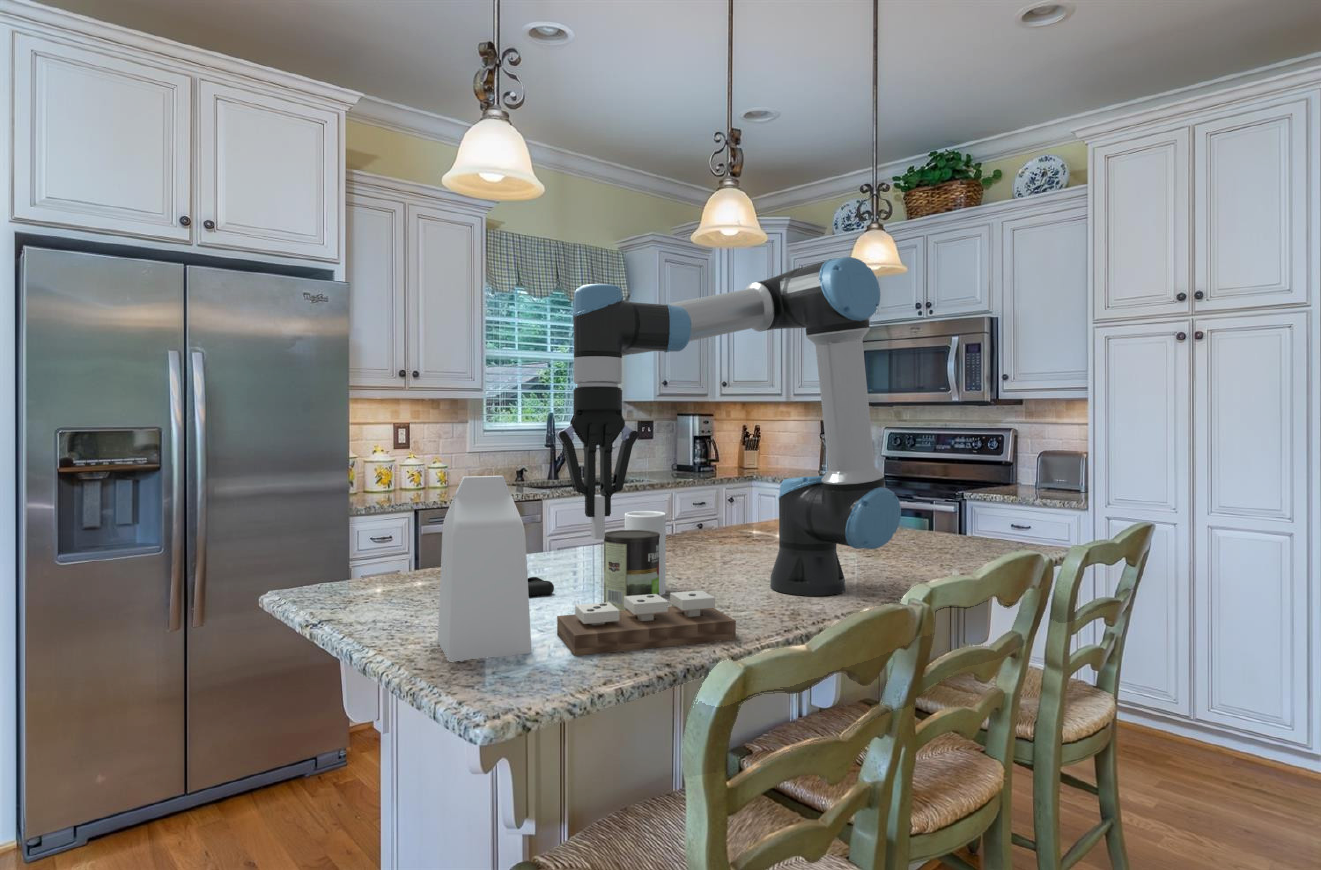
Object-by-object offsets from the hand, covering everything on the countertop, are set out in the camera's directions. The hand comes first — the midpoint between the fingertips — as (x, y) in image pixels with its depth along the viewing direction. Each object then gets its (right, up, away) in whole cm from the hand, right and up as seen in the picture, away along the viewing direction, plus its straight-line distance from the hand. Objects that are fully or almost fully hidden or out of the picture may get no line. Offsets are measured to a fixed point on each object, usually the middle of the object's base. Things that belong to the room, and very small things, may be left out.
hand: (597, 537), depth 120 cm
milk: (-17, -17, -3) cm, 24 cm away
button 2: (+7, -14, +3) cm, 16 cm away
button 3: (0, -15, 0) cm, 15 cm away
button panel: (+7, -16, +3) cm, 18 cm away
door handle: (-23, -16, +34) cm, 44 cm away
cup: (+7, -16, +35) cm, 39 cm away
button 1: (+15, -14, +6) cm, 21 cm away
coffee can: (+4, -16, +20) cm, 26 cm away
